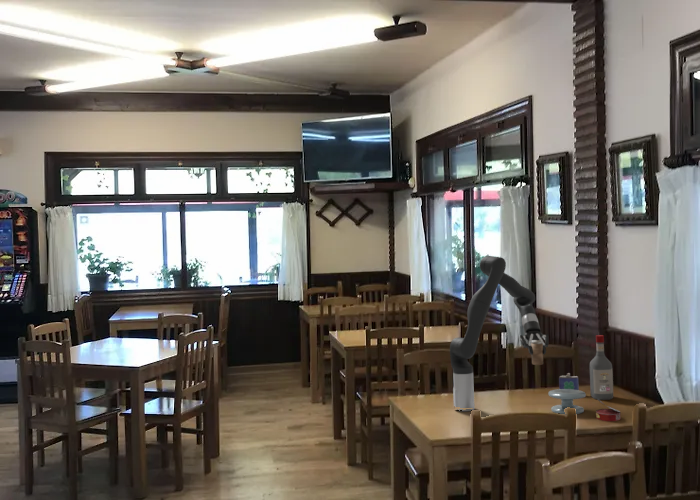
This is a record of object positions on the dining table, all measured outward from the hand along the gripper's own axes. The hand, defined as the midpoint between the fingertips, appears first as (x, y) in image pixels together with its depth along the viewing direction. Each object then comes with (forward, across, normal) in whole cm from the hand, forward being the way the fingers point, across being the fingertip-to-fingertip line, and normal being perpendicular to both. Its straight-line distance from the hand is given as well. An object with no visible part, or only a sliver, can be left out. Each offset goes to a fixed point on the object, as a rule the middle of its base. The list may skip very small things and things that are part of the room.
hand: (538, 353), depth 328 cm
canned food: (+37, +22, -3) cm, 43 cm away
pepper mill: (+2, 0, +5) cm, 6 cm away
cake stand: (+26, +9, +8) cm, 29 cm away
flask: (+5, +19, +29) cm, 35 cm away
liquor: (+12, +32, +23) cm, 41 cm away
